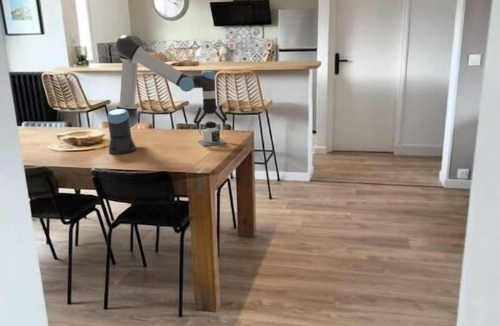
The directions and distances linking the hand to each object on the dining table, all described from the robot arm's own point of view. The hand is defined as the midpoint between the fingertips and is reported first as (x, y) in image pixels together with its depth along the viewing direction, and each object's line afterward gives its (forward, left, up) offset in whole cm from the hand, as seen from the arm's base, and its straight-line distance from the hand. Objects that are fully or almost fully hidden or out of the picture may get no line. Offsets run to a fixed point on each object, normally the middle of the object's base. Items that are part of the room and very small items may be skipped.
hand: (211, 133), depth 270 cm
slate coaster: (0, 0, -6) cm, 6 cm away
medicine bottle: (0, 0, -5) cm, 5 cm away
